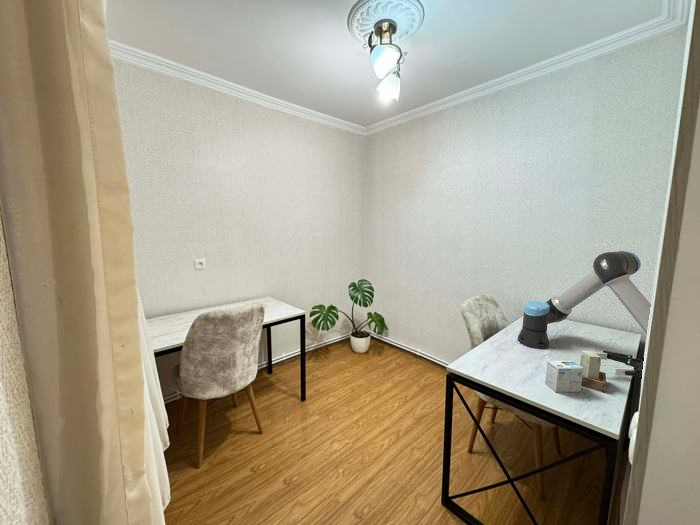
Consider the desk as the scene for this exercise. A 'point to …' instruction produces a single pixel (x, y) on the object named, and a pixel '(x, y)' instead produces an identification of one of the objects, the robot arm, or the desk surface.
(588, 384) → the walnut holder
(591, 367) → the skincare box
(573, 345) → the desk surface
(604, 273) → the robot arm
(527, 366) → the desk surface
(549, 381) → the light bulb box
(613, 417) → the desk surface
